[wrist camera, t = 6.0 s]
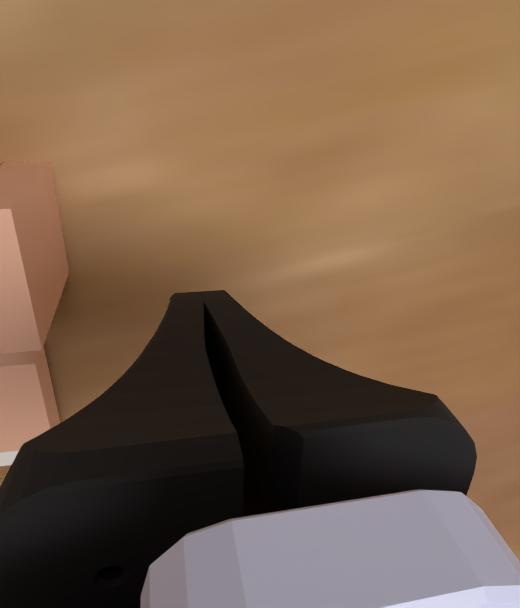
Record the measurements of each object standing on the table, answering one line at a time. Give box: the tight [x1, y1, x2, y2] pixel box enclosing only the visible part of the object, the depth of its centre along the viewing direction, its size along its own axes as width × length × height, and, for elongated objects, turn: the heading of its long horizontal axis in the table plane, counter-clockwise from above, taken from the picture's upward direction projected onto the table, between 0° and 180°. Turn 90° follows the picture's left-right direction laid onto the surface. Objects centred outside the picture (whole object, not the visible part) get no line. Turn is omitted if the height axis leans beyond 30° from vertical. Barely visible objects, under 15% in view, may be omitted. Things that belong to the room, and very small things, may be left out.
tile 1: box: [0, 162, 69, 354], centre depth 16 cm, size 4×2×6 cm, turn 178°
